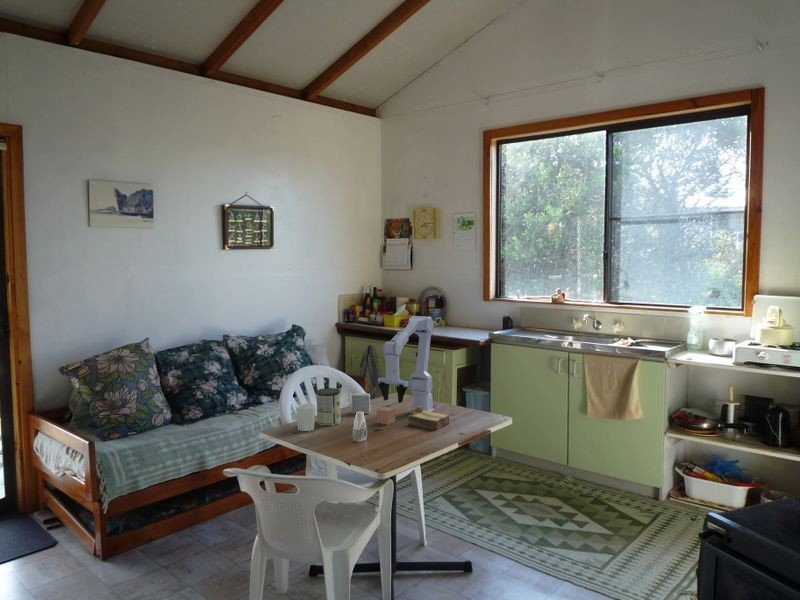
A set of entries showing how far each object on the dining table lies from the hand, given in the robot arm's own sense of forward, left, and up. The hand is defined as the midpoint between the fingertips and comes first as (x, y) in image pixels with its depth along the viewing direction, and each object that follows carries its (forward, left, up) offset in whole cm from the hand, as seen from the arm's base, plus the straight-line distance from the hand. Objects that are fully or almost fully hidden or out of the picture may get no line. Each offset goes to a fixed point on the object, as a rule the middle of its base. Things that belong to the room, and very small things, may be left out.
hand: (393, 401), depth 263 cm
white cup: (+26, -26, -10) cm, 38 cm away
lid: (-8, +13, -7) cm, 16 cm away
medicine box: (-7, -23, -10) cm, 26 cm away
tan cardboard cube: (0, -4, -10) cm, 11 cm away
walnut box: (-8, +13, -10) cm, 18 cm away
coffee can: (+13, -25, -10) cm, 30 cm away
